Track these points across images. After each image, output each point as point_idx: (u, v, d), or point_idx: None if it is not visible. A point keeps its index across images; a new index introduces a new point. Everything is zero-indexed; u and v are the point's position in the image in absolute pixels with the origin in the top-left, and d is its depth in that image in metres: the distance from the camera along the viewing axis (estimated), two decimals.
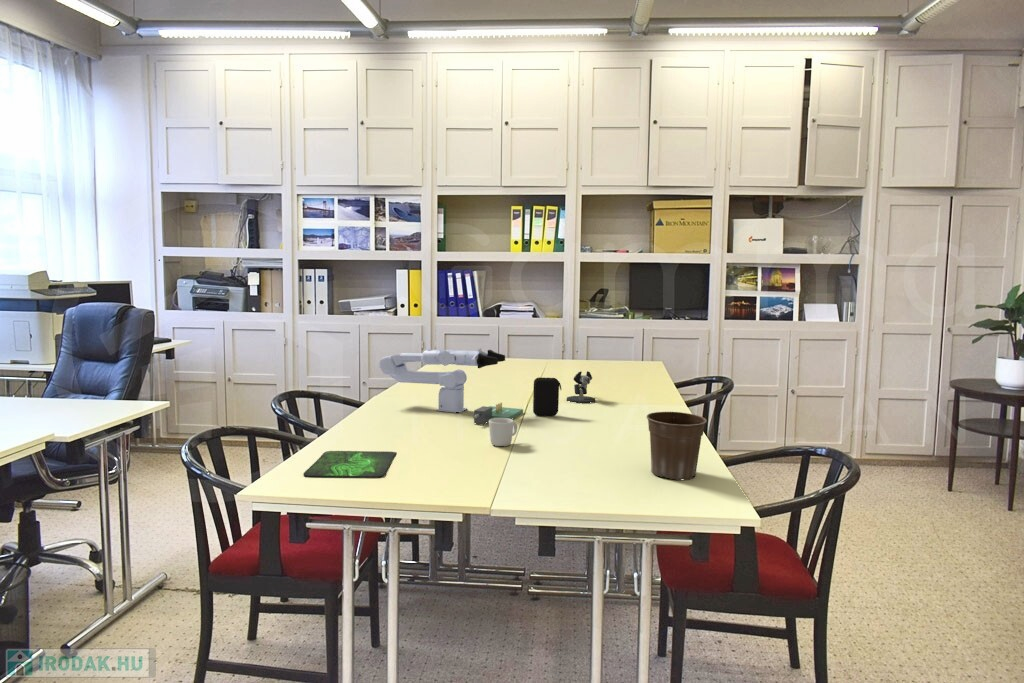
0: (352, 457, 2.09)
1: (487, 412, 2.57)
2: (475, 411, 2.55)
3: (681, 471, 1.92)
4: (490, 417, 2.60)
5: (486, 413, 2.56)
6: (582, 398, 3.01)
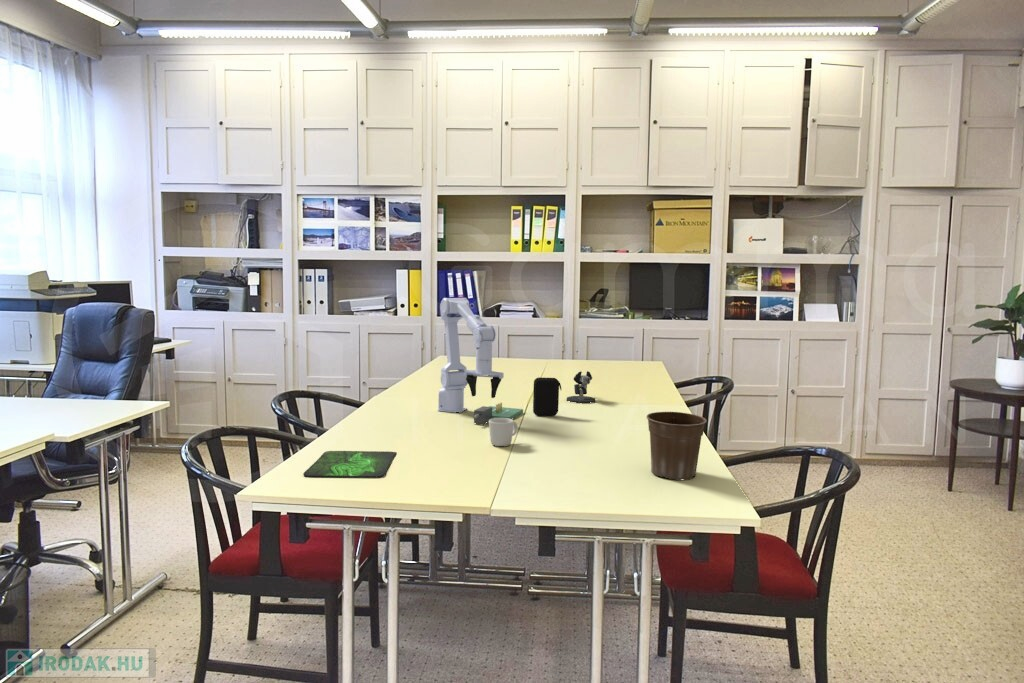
0: (352, 457, 2.09)
1: (487, 412, 2.57)
2: (475, 411, 2.55)
3: (681, 471, 1.92)
4: (490, 417, 2.60)
5: (486, 413, 2.56)
6: (582, 398, 3.01)
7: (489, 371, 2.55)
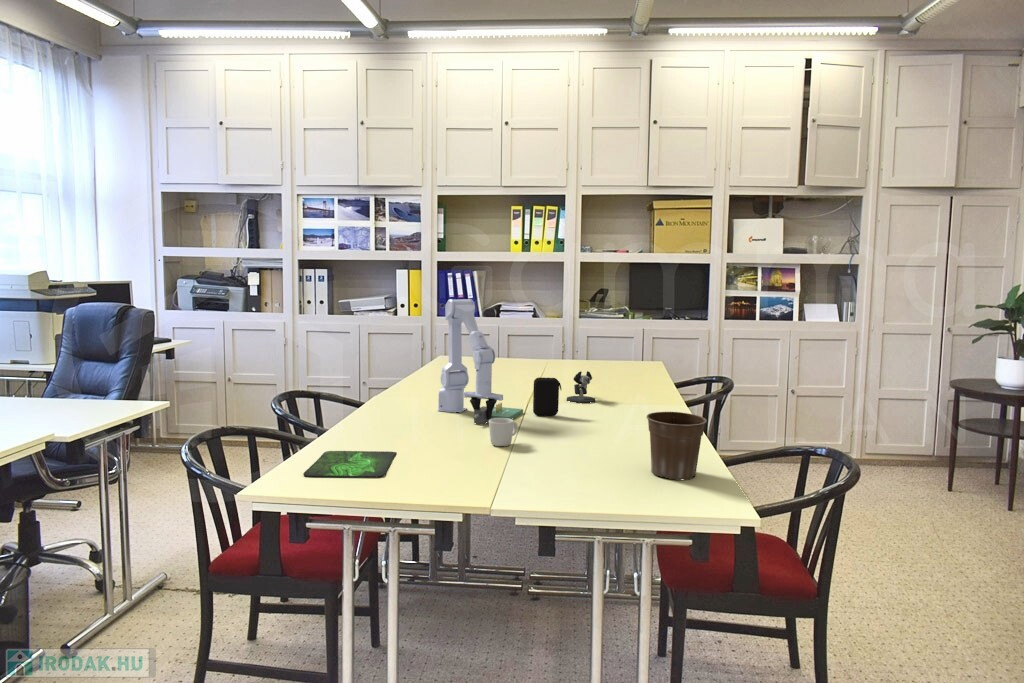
0: (352, 457, 2.09)
1: None
2: (475, 411, 2.55)
3: (681, 471, 1.92)
4: None
5: (486, 413, 2.56)
6: (582, 398, 3.01)
7: (489, 393, 2.56)
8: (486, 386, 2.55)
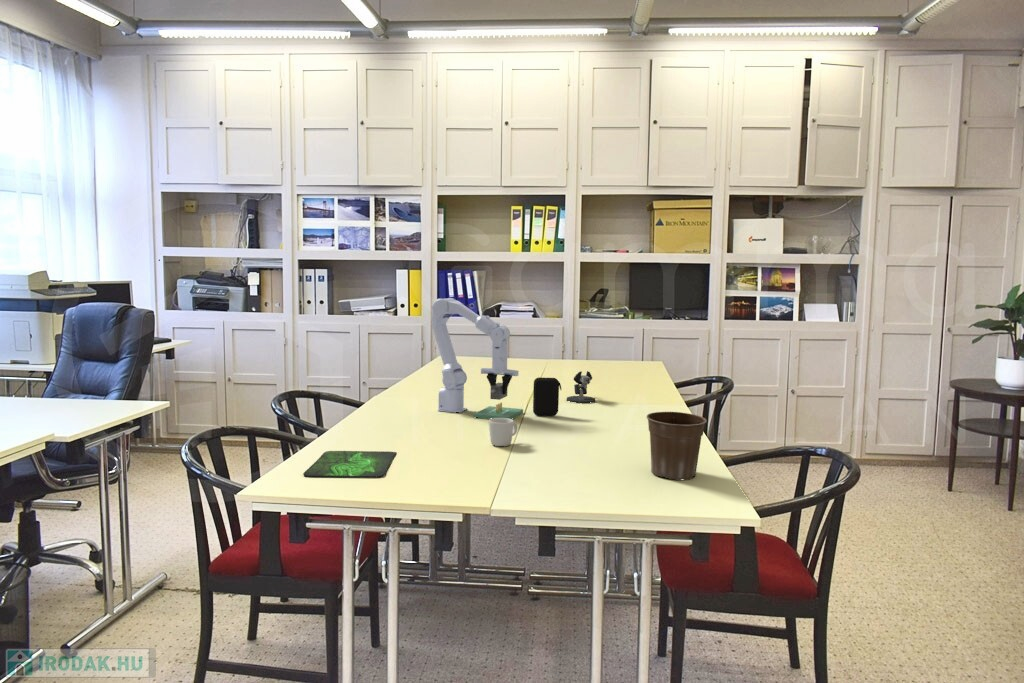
0: (352, 457, 2.09)
1: None
2: (491, 386, 2.66)
3: (681, 471, 1.92)
4: None
5: (502, 388, 2.68)
6: (582, 398, 3.01)
7: (505, 369, 2.67)
8: (502, 362, 2.66)
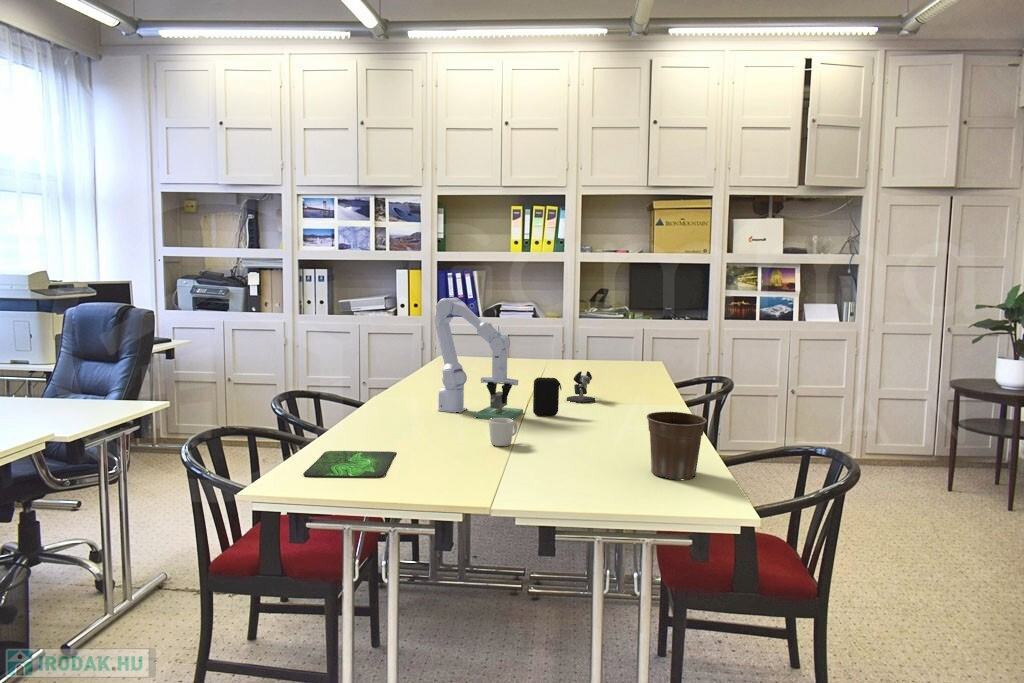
0: (352, 457, 2.09)
1: None
2: (491, 396, 2.67)
3: (681, 471, 1.92)
4: None
5: (502, 397, 2.68)
6: (582, 398, 3.01)
7: (504, 378, 2.68)
8: (502, 371, 2.67)
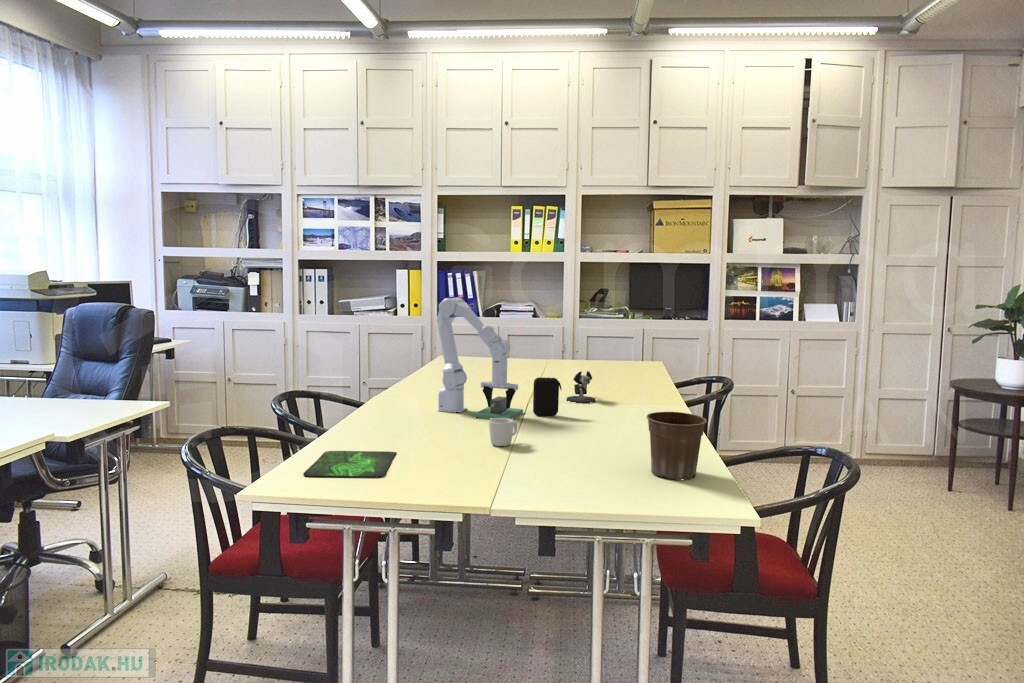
0: (352, 457, 2.09)
1: (503, 402, 2.69)
2: (491, 401, 2.67)
3: (681, 471, 1.92)
4: (505, 407, 2.72)
5: (502, 403, 2.68)
6: (582, 398, 3.01)
7: (504, 383, 2.68)
8: (502, 376, 2.67)
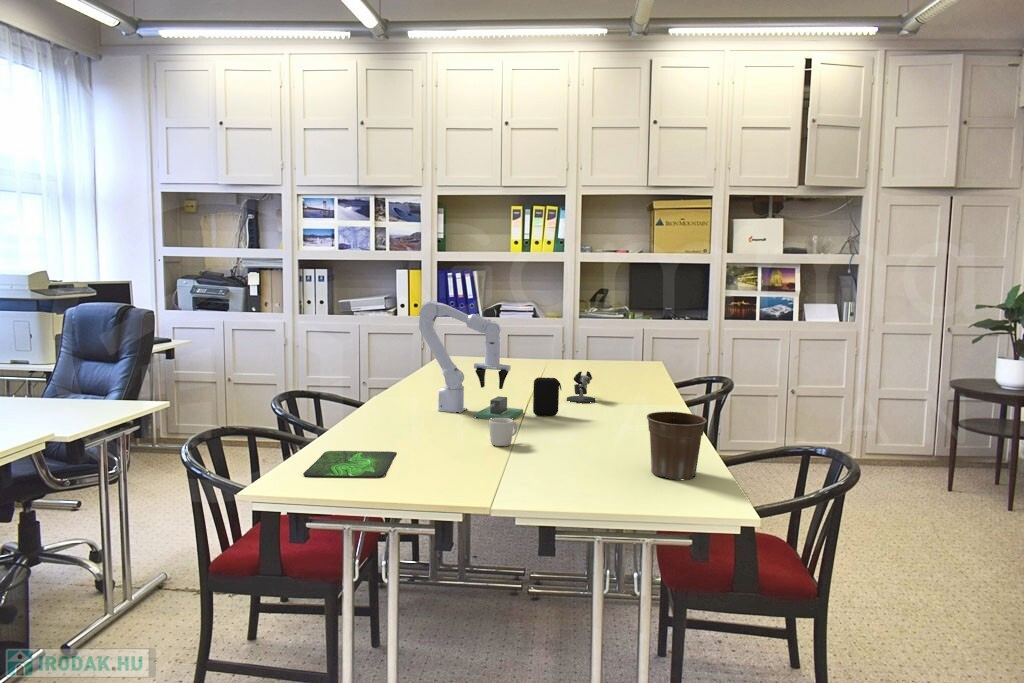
0: (352, 457, 2.09)
1: (503, 402, 2.69)
2: (491, 401, 2.67)
3: (681, 471, 1.92)
4: (505, 407, 2.72)
5: (502, 403, 2.68)
6: (582, 398, 3.01)
7: (497, 364, 2.73)
8: (495, 357, 2.72)
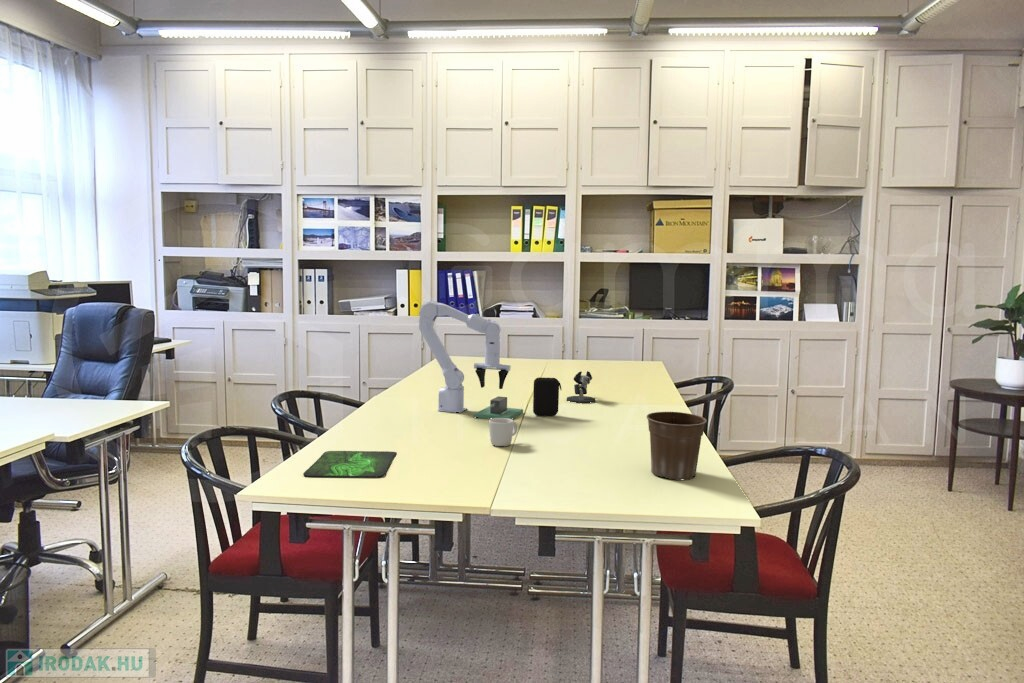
0: (352, 457, 2.09)
1: (503, 402, 2.69)
2: (491, 401, 2.67)
3: (681, 471, 1.92)
4: (505, 407, 2.72)
5: (502, 403, 2.68)
6: (582, 398, 3.01)
7: (497, 364, 2.73)
8: (495, 357, 2.72)
